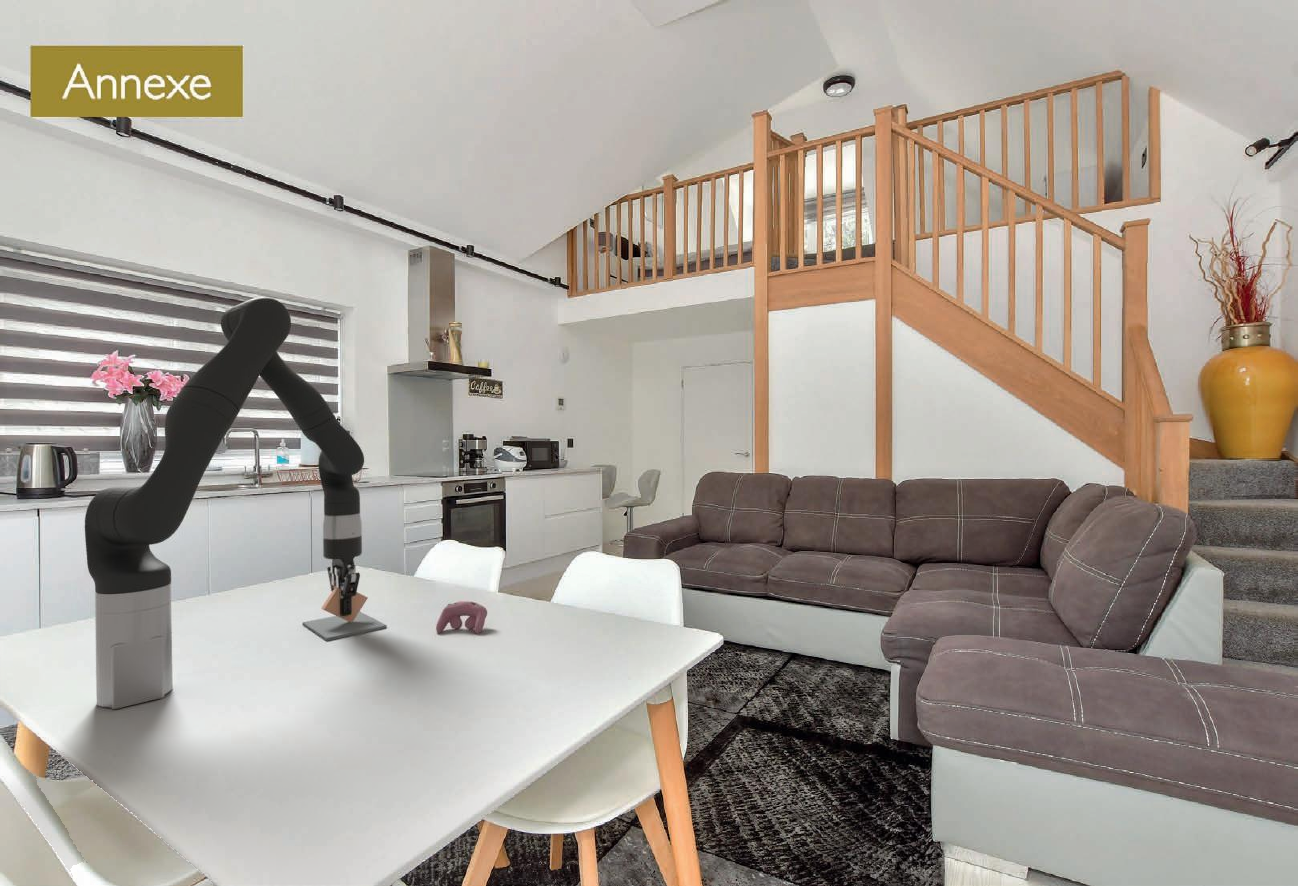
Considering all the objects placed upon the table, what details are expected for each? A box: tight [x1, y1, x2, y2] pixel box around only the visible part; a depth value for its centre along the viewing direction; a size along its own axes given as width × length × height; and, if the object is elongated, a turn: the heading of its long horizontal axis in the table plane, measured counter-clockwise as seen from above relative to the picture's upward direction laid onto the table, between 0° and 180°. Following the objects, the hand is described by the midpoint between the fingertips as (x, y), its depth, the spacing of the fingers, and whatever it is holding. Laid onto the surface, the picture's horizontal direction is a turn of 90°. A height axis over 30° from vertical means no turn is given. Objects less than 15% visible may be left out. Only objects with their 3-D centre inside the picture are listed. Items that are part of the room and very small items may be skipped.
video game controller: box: [435, 600, 488, 635], centre depth 129 cm, size 10×5×7 cm, turn 85°
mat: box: [302, 610, 387, 642], centre depth 132 cm, size 16×12×1 cm
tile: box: [320, 586, 369, 623], centre depth 133 cm, size 2×6×7 cm
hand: (343, 613), depth 133 cm, fingers closed on tile, 2 cm apart
